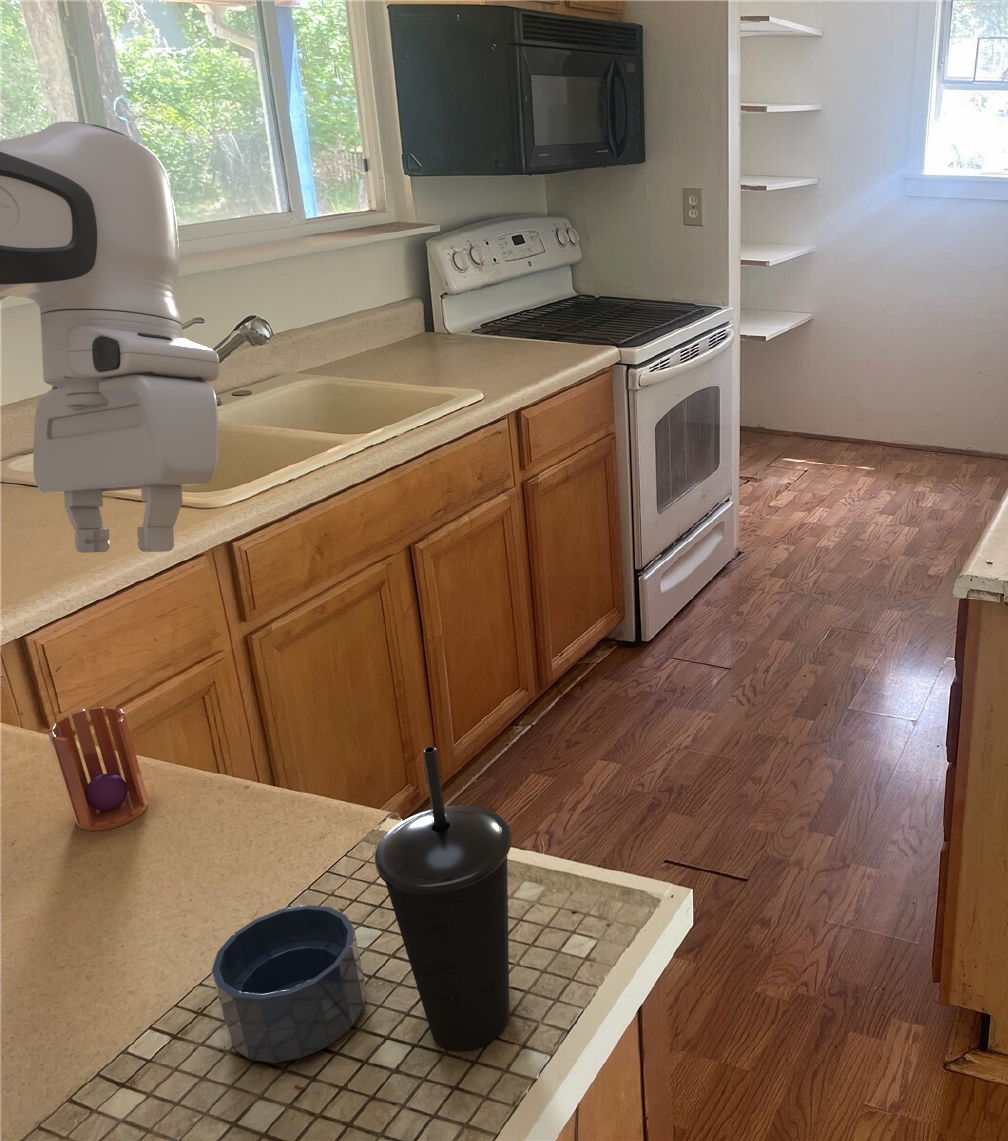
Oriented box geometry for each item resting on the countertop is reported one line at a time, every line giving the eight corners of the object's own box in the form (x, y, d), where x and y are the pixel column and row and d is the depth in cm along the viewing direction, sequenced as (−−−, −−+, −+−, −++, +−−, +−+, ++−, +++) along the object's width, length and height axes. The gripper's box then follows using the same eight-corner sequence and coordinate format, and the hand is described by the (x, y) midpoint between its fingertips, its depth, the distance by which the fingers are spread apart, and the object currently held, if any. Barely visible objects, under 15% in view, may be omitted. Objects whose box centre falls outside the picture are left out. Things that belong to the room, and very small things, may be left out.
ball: (85, 820, 87) (75, 788, 85) (97, 801, 89) (87, 770, 88) (125, 814, 87) (116, 782, 86) (136, 795, 90) (127, 764, 89)
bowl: (218, 1080, 63) (199, 1009, 61) (244, 983, 70) (227, 917, 68) (360, 1053, 65) (346, 983, 63) (371, 961, 72) (359, 896, 70)
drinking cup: (401, 1081, 63) (347, 797, 55) (412, 987, 70) (366, 723, 62) (533, 1059, 65) (498, 779, 57) (531, 968, 71) (500, 708, 64)
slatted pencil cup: (68, 812, 88) (40, 723, 85) (136, 786, 92) (112, 699, 88) (87, 839, 85) (59, 747, 82) (157, 811, 88) (132, 722, 85)
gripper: (4, 372, 81) (13, 554, 81) (139, 340, 69) (148, 552, 70) (93, 380, 86) (101, 551, 87) (232, 352, 75) (240, 550, 75)
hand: (123, 552), depth 78 cm, fingers open, 8 cm apart
